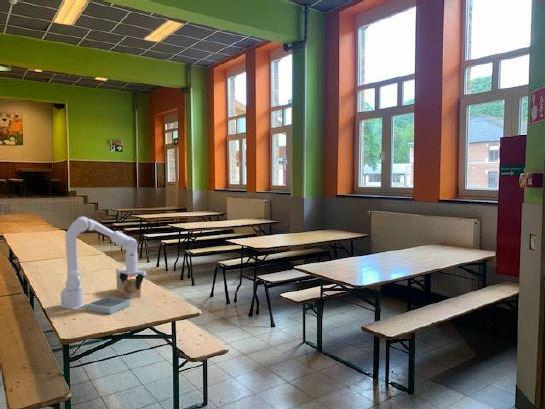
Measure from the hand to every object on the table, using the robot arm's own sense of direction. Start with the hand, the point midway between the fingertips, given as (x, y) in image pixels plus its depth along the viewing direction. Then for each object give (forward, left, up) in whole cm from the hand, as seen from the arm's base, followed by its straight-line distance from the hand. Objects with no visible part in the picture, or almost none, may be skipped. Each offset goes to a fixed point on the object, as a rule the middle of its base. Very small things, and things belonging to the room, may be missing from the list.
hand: (132, 288), depth 213 cm
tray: (-3, -13, -7) cm, 15 cm away
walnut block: (0, 0, -2) cm, 2 cm away
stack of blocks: (-11, +10, -7) cm, 17 cm away
